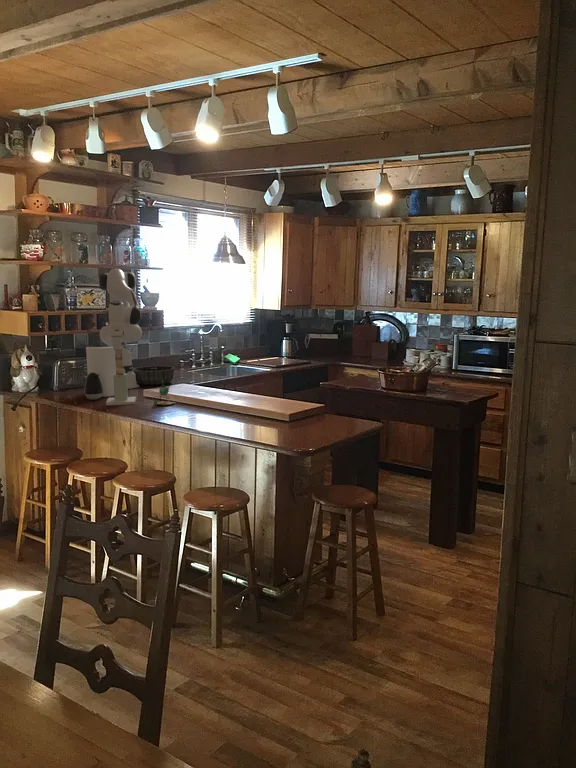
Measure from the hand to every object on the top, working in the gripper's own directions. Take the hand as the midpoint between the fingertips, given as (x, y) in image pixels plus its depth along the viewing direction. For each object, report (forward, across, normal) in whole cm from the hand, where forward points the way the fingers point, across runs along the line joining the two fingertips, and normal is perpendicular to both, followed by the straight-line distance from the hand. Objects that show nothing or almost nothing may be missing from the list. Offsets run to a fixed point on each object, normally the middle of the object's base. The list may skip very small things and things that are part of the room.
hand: (119, 357), depth 372 cm
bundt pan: (+25, -62, +16) cm, 69 cm away
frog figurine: (+25, +14, +22) cm, 37 cm away
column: (+18, 0, 0) cm, 18 cm away
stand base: (+25, 0, 0) cm, 25 cm away
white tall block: (+25, -29, -12) cm, 40 cm away
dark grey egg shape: (+25, -14, -16) cm, 33 cm away
